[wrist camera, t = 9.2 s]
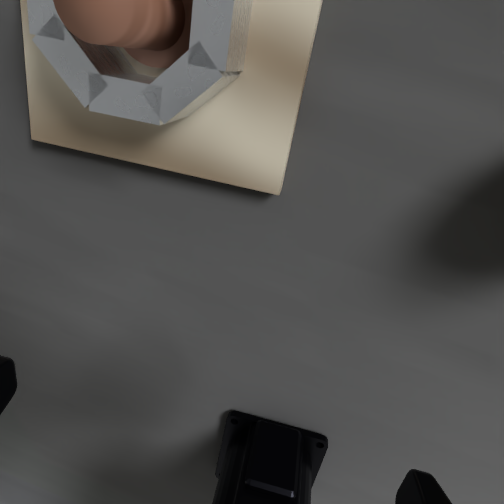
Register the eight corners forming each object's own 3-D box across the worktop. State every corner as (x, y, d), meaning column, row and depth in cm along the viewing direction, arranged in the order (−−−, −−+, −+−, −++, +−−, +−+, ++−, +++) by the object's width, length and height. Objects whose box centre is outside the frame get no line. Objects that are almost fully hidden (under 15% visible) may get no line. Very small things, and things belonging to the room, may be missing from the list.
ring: (235, 126, 16) (217, 137, 14) (80, 94, 17) (34, 99, 14) (265, -83, 13) (249, -121, 11) (74, -113, 14) (14, -157, 11)
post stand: (281, 189, 18) (262, 239, 13) (45, 136, 19) (-64, 161, 14) (356, -154, 13) (376, -312, 8) (23, -204, 14) (-168, -375, 9)
